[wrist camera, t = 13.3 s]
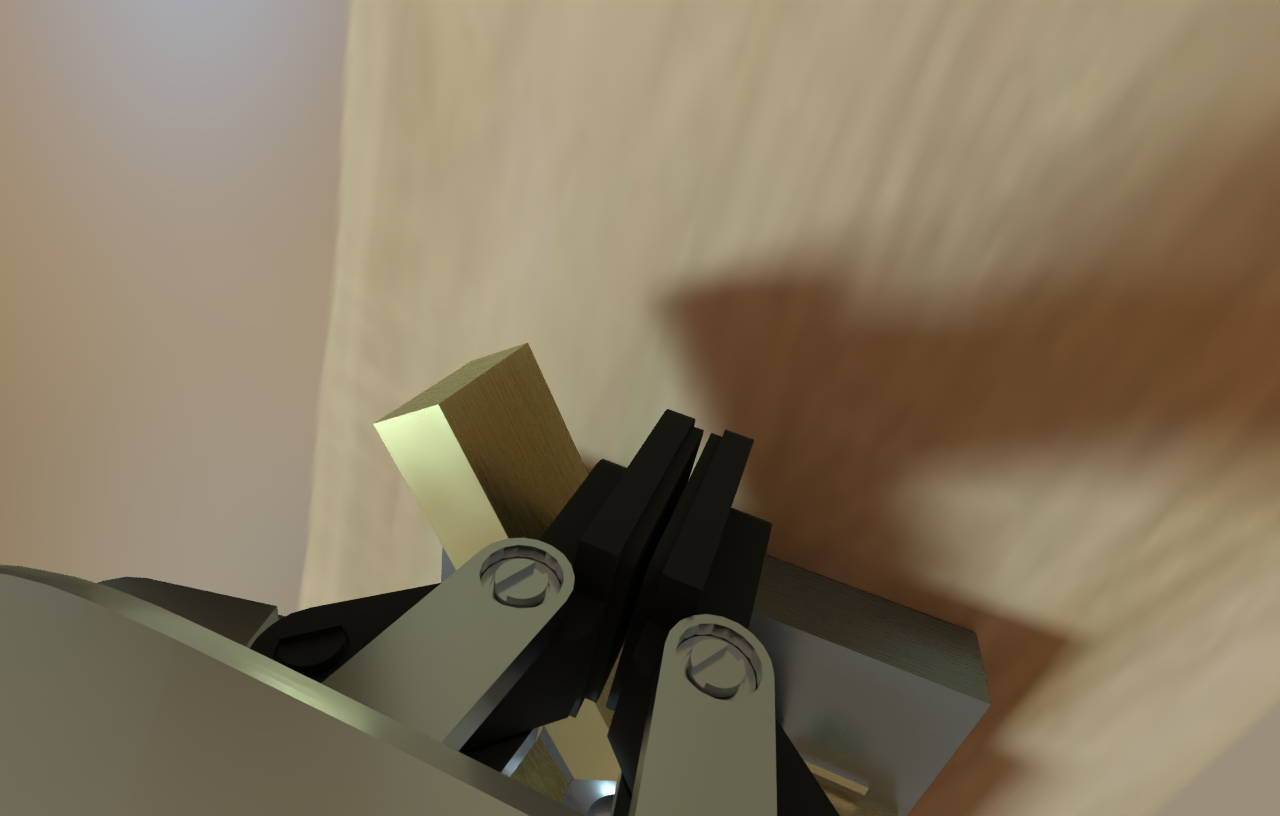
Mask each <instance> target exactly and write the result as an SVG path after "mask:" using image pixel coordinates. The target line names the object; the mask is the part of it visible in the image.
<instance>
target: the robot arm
mask: <svg viewBox="0 0 1280 816" xmlns="http://www.w3.org/2000/svg"><path fill="white" fill-rule="evenodd" d="M694 424H695V419H694V418H691V417H688V416H686V415H683V414H680V413H677V412H674V411H672V410H669V409H667V410H666V411H665V412H664V414H663V415H662V417H661V418H660V420H659V421H658V423H657V424H656V426H655V427H654V429H653V430H652V432H651V433H650V435H649V436H648V438H647V439H646V441H645V442H644V444H643V445H642V447H641V448H640V450H639V451H638V453H637V454H636V456H635V457H634V459H633V460H632V462H631V463H630V465H629V466H628V468H625V467H623V466H620V465H618V464H615V463H612V462H610V461H607V460H604V459H602V460H600V461H599V462H598V463H597V464H596V466H595V467H594V468H593V470H592V471H591V472H590V474H589V475H588V476H587V477H586V479H585V480H584V481H583V483H582V484H581V485H580V487H579V488H578V489H577V491H576V492H575V493H574V495H573V496H572V497H571V499H570V500H569V501H568V502H567V504H566V505H565V506H564V508H563V509H562V510H561V512H560V513H559V514H558V516H557V517H556V518H555V520H554V521H553V522H552V524H551V525H550V526H549V527H548V529H547V530H546V531H545V533H544V534H543V535H542V537H541V538H540V539H539V540H535V539H529V538H508V539H504V540H501V541H497V542H494V543H492V544H490V545H488V546H487V547H485V548H484V549H482V550H480V551H479V552H478V553H477V554H476V555H474V556H473V557H472V558H471V559H470V560H468V561H467V562H466V563H465V564H464V565H462V566H461V567H460V568H459V569H458V570H456V571H455V572H454V573H453V574H452V575H450V576H449V577H448V578H447V579H446V580H444V581H443V582H442V583H438V584H433V585H428V586H423V587H417V588H412V589H407V590H401V591H396V592H391V593H386V594H380V595H375V596H370V597H365V598H359V599H354V600H349V601H344V602H338V603H333V604H328V605H322V606H317V607H312V608H308V609H305V610H301V611H298V612H295V613H291V614H289V615H288V616H282V615H278V610H277V606H274V605H269V604H265V603H260V602H255V601H251V600H246V599H241V598H237V597H232V596H228V595H223V594H218V593H214V592H209V591H204V590H200V589H195V588H190V587H186V586H181V585H177V584H172V583H167V582H162V581H157V580H153V579H148V578H138V577H122V578H116V579H111V580H105V581H101V582H99V583H94V582H91V581H88V580H84V579H81V578H78V577H74V576H69V575H64V574H60V573H54V572H49V571H45V570H39V569H33V568H28V567H23V566H13V565H0V816H586V815H584V814H582V813H580V812H578V811H576V810H574V809H572V808H570V807H568V806H566V805H564V804H562V803H560V802H558V801H556V800H554V799H552V798H550V797H548V796H546V795H544V794H542V793H540V792H538V791H536V790H534V789H532V788H530V787H528V786H526V785H524V784H522V783H520V782H518V781H516V780H514V779H512V778H510V776H511V775H512V774H513V772H514V771H515V769H516V768H517V767H518V765H519V764H520V763H521V761H522V760H523V759H524V757H525V756H526V754H527V753H528V752H529V750H530V749H531V748H532V746H533V745H534V743H535V742H536V740H537V738H538V736H539V734H540V733H541V731H542V728H543V726H544V725H547V724H550V723H553V722H556V721H559V720H562V719H565V718H568V716H572V717H574V718H576V716H577V714H578V712H579V710H580V708H581V706H582V704H583V701H584V699H585V698H586V699H588V700H590V701H593V702H595V703H597V701H598V699H599V697H600V695H601V693H602V691H603V689H604V686H605V684H606V682H607V680H608V678H609V675H610V673H611V671H612V669H613V667H614V664H615V662H616V660H617V658H618V656H619V653H620V651H621V649H622V647H623V649H622V653H621V656H620V659H619V663H618V666H617V669H616V673H615V676H614V679H613V683H612V686H611V689H610V693H609V696H608V700H607V703H606V708H608V709H610V710H612V711H615V712H614V715H613V718H612V721H611V724H610V728H609V731H608V734H607V737H608V740H609V742H610V745H611V747H612V749H613V752H614V754H615V756H616V759H617V761H618V763H619V766H620V768H621V771H620V774H619V776H618V779H617V783H616V788H615V793H614V797H613V802H612V807H611V812H610V816H840V815H839V813H838V812H837V810H836V809H835V807H834V806H833V804H832V803H831V801H830V800H829V798H828V797H827V795H826V794H825V792H824V791H823V789H822V788H821V786H820V785H819V783H818V781H817V780H816V778H815V777H814V775H813V774H812V772H811V771H810V769H809V768H808V766H807V765H806V763H805V762H804V760H803V759H802V757H801V756H800V754H799V753H798V751H797V749H796V748H795V746H794V745H793V743H792V742H791V740H790V739H789V737H788V736H787V734H786V733H785V731H784V730H783V728H782V727H781V725H780V724H779V722H778V721H777V719H776V717H775V683H774V672H773V666H772V661H771V659H770V657H769V655H768V653H767V651H766V649H765V648H764V646H763V645H762V644H761V642H760V641H759V640H758V639H757V638H756V637H755V636H754V635H753V634H752V633H751V632H750V631H748V629H749V624H750V620H751V615H752V611H753V607H754V602H755V598H756V593H757V589H758V585H759V580H760V576H761V571H762V567H763V563H764V558H765V554H766V549H767V545H768V541H769V536H770V532H771V526H772V524H771V523H770V522H767V521H764V520H762V519H759V518H757V517H754V516H751V515H749V514H746V513H744V512H741V511H738V510H736V509H733V508H731V506H732V503H733V500H734V497H735V495H736V492H737V489H738V486H739V483H740V480H741V477H742V474H743V471H744V468H745V465H746V462H747V459H748V456H749V453H750V450H751V447H752V444H753V442H754V440H753V439H750V438H747V437H745V436H742V435H739V434H736V433H733V432H731V431H728V430H725V432H724V434H723V436H722V437H721V436H718V435H716V434H713V433H711V435H710V437H709V439H708V441H707V443H706V445H705V447H704V450H703V452H702V454H701V456H700V458H699V460H698V462H697V464H696V466H695V468H694V470H693V473H692V475H691V477H690V474H691V471H692V468H693V464H694V461H695V458H696V455H697V452H698V448H699V445H700V442H701V439H702V436H703V432H704V430H702V429H699V428H696V427H694ZM689 477H690V479H689ZM688 480H689V481H688ZM624 642H625V643H624ZM623 645H624V646H623Z"/></svg>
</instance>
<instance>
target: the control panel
mask: <svg viewBox="0 0 1280 816" xmlns="http://www.w3.org/2000/svg"><path fill="white" fill-rule="evenodd" d="M455 571H456V569H455V567H454V565H453V564H452V562H451V560H450V558H449V557H448V555H447V553H446V551H445V550H444V548H443V551H442V576H441V583H442V582H443V581H444V580H446V579H447V578H448V577H449V576H450V575H452V574H453V573H454V572H455ZM748 631H750V632H751V633H752V634H753V635H754V636H755V637H756V638H757V639H758V640H759V641H760V642H761V644H762V645H763V646H764V648H765V649H766V651H767V653H768V655H769V657H770V659H771V661H772V666H773V672H774V683H775V717H776V719H777V721H778V722H779V724H780V725H781V727H782V728H783V730H784V731H785V733H786V734H787V736H788V737H789V739H790V740H791V742H792V743H793V745H794V746H795V748H796V749H797V751H798V753H799V754H800V756H801V757H802V759H803V760H804V762H805V763H806V765H807V766H808V768H809V769H810V771H811V772H812V774H813V775H814V777H815V778H816V780H817V781H818V783H819V785H820V786H821V788H822V789H823V791H824V792H825V794H826V795H827V797H828V798H829V800H830V801H831V803H832V804H833V806H834V807H835V809H836V810H837V812H838V813H839V815H840V816H907V815H908V814H909V812H910V811H911V810H912V808H913V807H914V806H915V804H916V803H917V802H918V800H919V799H920V798H921V797H922V795H923V794H924V793H925V791H926V790H927V789H928V787H929V786H930V785H931V783H932V782H933V781H934V779H935V778H936V777H937V775H938V774H939V773H940V772H941V770H942V769H943V768H944V766H945V765H946V764H947V762H948V761H949V760H950V758H951V757H952V756H953V754H954V753H955V752H956V750H957V749H958V748H959V747H960V745H961V744H962V743H963V741H964V740H965V739H966V737H967V736H968V735H969V733H970V732H971V731H972V729H973V728H974V727H975V726H976V724H977V723H978V722H979V720H980V719H981V718H982V716H983V715H984V714H985V712H986V711H987V710H988V708H989V707H990V706H991V701H990V696H989V691H988V686H987V682H986V677H985V672H984V667H983V663H982V658H981V653H980V648H979V644H978V639H977V634H976V633H973V632H970V631H968V630H965V629H962V628H960V627H957V626H954V625H952V624H949V623H946V622H944V621H941V620H938V619H935V618H933V617H930V616H927V615H925V614H922V613H919V612H917V611H914V610H911V609H908V608H906V607H903V606H900V605H898V604H895V603H892V602H890V601H887V600H884V599H882V598H879V597H876V596H873V595H871V594H868V593H865V592H863V591H860V590H857V589H855V588H852V587H849V586H846V585H844V584H841V583H838V582H836V581H833V580H830V579H828V578H825V577H822V576H820V575H817V574H814V573H811V572H809V571H806V570H803V569H801V568H798V567H795V566H793V565H790V564H787V563H784V562H782V561H779V560H776V559H774V558H771V557H768V556H766V555H765V558H764V563H763V567H762V571H761V576H760V580H759V585H758V589H757V593H756V598H755V602H754V607H753V611H752V615H751V620H750V624H749V629H748ZM539 738H540V739H541V741H542V742H543V744H544V745H545V747H546V749H547V750H548V752H549V753H550V755H551V756H552V758H553V759H554V761H555V762H556V764H557V765H558V767H559V769H560V770H561V772H562V773H563V775H564V776H565V778H566V779H567V781H568V782H569V783H570V781H571V778H572V774H571V772H570V770H569V769H568V767H567V765H566V763H565V762H564V760H563V758H562V756H561V754H560V753H559V751H558V749H557V747H556V746H555V744H554V742H553V740H552V739H551V737H550V735H549V733H548V731H547V730H546V728H545V726H543V728H542V731H541V733H540V734H539Z"/></svg>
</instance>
